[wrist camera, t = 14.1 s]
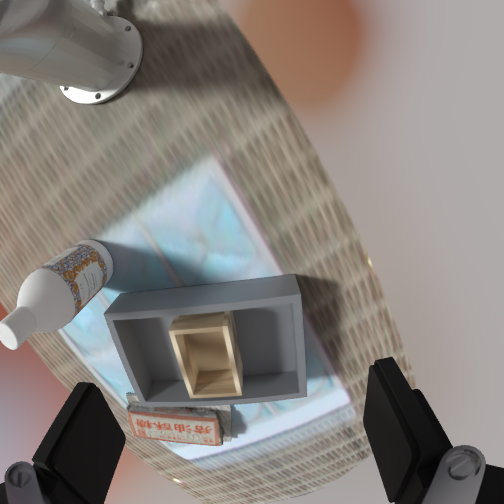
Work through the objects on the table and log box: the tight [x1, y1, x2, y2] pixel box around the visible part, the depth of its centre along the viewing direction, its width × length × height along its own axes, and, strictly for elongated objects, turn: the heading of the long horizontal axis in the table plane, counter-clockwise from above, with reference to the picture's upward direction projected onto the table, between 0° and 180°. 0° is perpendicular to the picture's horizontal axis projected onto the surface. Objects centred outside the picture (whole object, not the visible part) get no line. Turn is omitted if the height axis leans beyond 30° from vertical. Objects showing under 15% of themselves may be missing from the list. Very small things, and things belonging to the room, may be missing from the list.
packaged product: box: [126, 393, 232, 446], centre depth 47 cm, size 18×5×10 cm
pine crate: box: [169, 310, 243, 398], centre depth 40 cm, size 11×7×6 cm, turn 8°
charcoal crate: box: [104, 274, 307, 407], centre depth 41 cm, size 16×24×6 cm, turn 98°
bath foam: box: [0, 240, 113, 350], centre depth 31 cm, size 7×7×20 cm
